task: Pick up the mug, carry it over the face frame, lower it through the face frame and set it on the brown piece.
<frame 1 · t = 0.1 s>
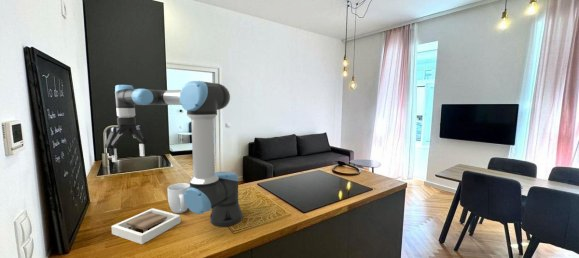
hand: (129, 158, 118), 28 cm above the kitchen counter, fingers open, 13 cm apart
mug: (180, 211, 122), on the kitchen counter
face frame: (147, 227, 106), on the kitchen counter
brown piece: (147, 223, 105), in the face frame
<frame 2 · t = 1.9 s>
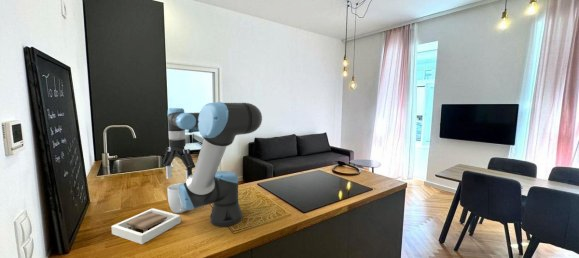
hand: (178, 179, 120), 17 cm above the kitchen counter, fingers open, 13 cm apart
nothing on the kitchen counter moved.
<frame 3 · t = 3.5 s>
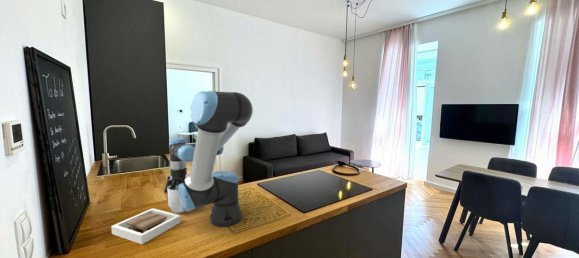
hand: (180, 208, 122), 2 cm above the kitchen counter, fingers closed on mug, 12 cm apart
mug: (180, 211, 122), on the kitchen counter, touching gripper
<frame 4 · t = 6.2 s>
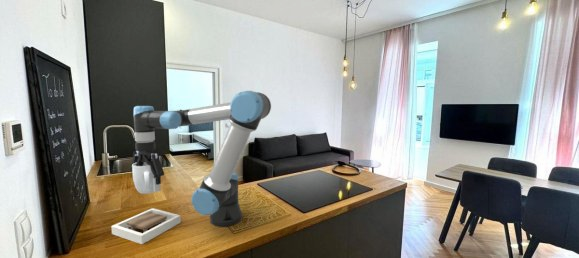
hand: (147, 188, 105), 18 cm above the kitchen counter, fingers closed on mug, 12 cm apart
mug: (148, 192, 105), point 16 cm above the kitchen counter, touching gripper
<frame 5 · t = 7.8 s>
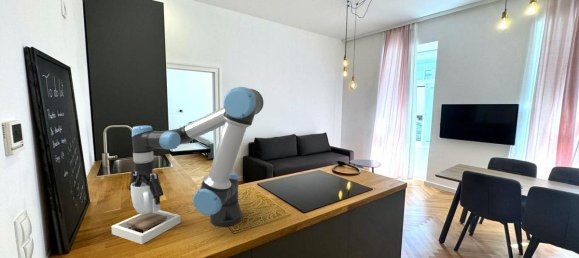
hand: (146, 208, 105), 9 cm above the kitchen counter, fingers closed on mug, 12 cm apart
mug: (147, 212, 105), point 7 cm above the kitchen counter, touching gripper
when the fingers open (7 cm above the kitchen counter, at t = 9.0 s): mug drops 1 cm, resting on brown piece.
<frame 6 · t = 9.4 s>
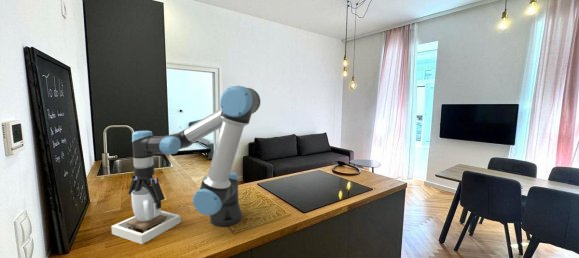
hand: (147, 212, 105), 7 cm above the kitchen counter, fingers open, 13 cm apart
mug: (147, 220, 105), point 4 cm above the kitchen counter, touching brown piece
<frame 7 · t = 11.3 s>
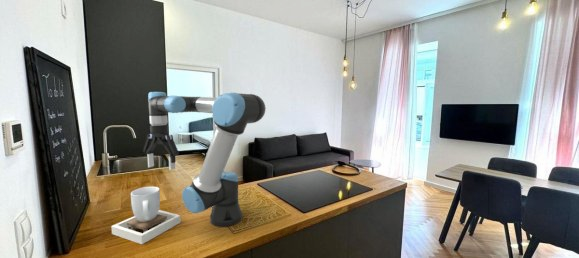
hand: (161, 168, 114), 24 cm above the kitchen counter, fingers open, 13 cm apart
nothing on the kitchen counter moved.
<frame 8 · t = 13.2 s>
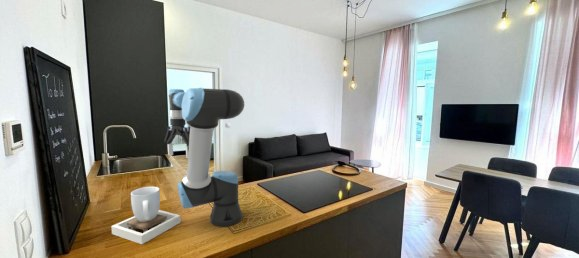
hand: (179, 156, 130), 27 cm above the kitchen counter, fingers open, 13 cm apart
nothing on the kitchen counter moved.
at the end: mug inside the target area on the brown piece (0.2 cm from its centre), point 3.8 cm above the brown piece's base; mug tilted 0°; the gripper is holding nothing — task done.
